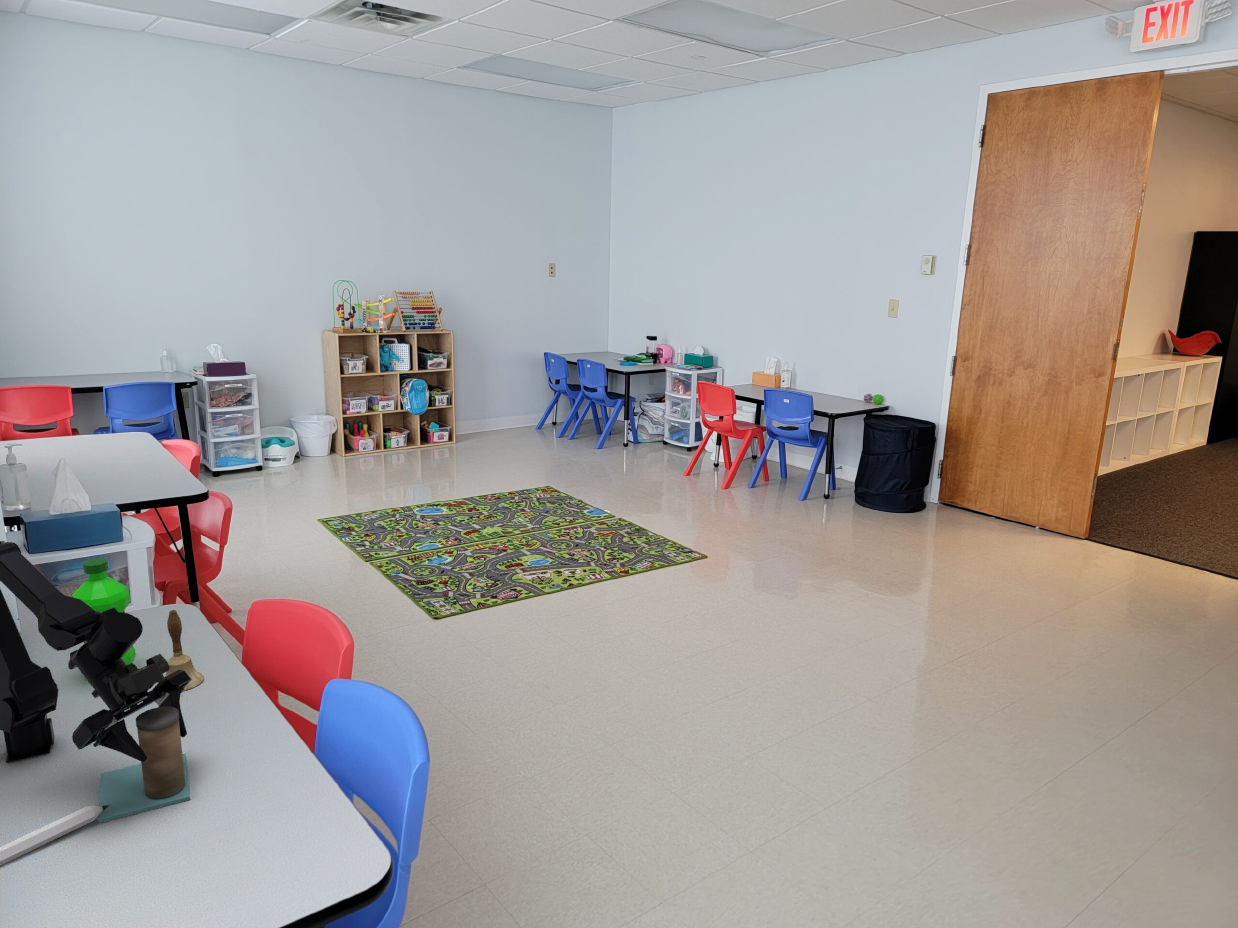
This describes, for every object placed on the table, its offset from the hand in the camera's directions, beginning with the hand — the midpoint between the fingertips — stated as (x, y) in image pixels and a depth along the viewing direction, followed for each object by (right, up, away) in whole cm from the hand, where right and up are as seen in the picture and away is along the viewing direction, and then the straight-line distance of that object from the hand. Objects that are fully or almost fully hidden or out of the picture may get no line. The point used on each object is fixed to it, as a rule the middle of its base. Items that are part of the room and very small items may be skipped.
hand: (165, 747), depth 141 cm
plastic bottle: (-33, +2, +42) cm, 54 cm away
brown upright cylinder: (-1, -7, +2) cm, 8 cm away
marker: (-12, -11, -9) cm, 18 cm away
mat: (-5, -8, +4) cm, 10 cm away
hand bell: (-17, +1, +39) cm, 42 cm away
